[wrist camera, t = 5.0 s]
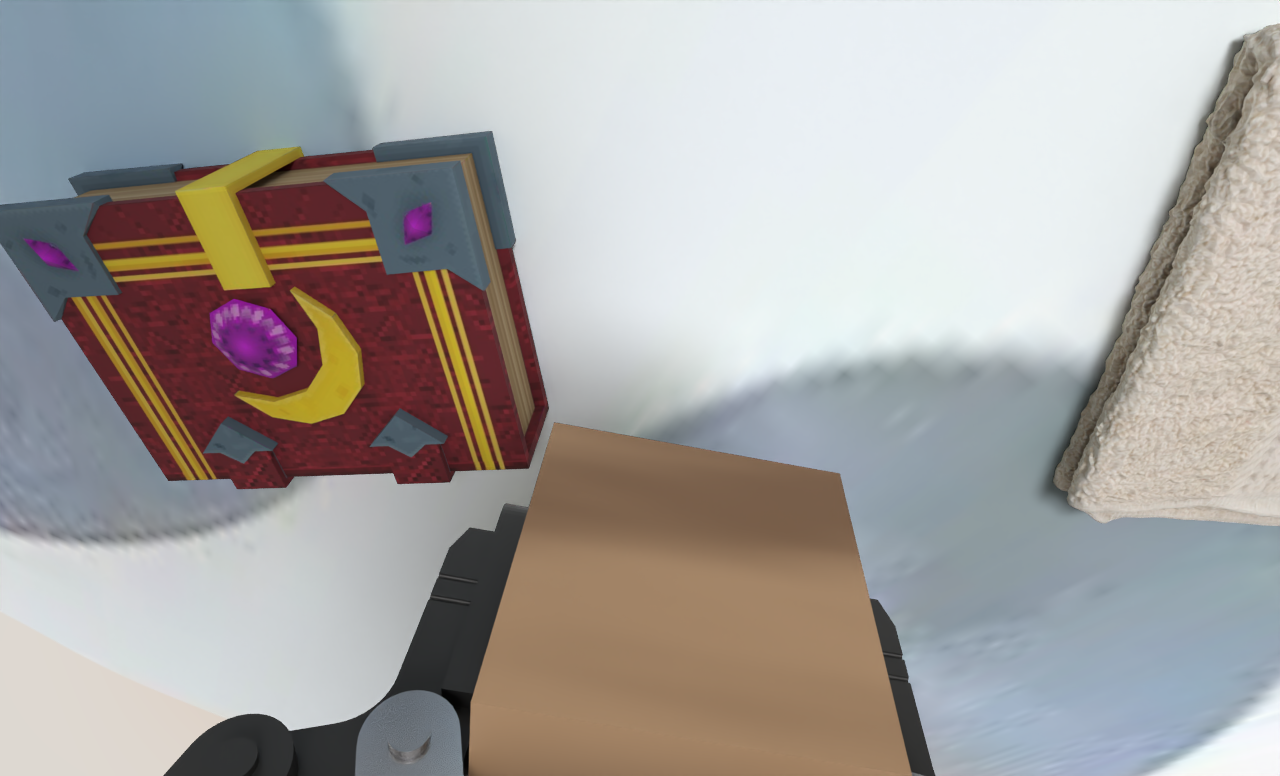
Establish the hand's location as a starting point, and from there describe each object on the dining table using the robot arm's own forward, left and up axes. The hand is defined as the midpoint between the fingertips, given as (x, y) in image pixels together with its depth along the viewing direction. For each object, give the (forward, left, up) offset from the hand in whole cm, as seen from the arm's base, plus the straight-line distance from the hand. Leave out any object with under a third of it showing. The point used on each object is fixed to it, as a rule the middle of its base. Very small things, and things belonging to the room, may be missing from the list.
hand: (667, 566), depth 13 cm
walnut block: (0, 0, -1) cm, 1 cm away
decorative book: (+4, -13, -14) cm, 20 cm away
